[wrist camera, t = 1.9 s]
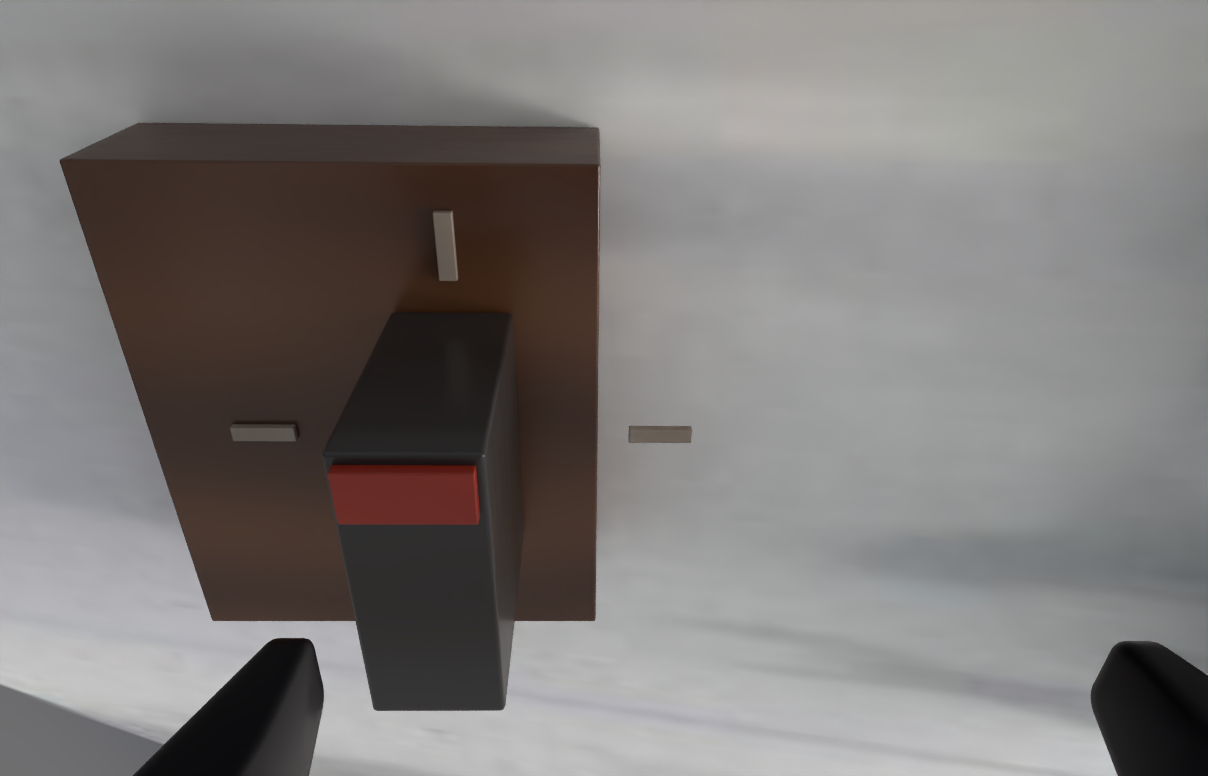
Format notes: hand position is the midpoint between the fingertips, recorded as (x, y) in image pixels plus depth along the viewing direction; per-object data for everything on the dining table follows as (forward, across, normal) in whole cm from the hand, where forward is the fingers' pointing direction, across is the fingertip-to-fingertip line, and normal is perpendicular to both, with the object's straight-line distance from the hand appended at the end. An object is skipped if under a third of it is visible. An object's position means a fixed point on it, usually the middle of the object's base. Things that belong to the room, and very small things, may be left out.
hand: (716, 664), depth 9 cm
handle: (+9, +4, +3) cm, 10 cm away
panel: (+12, +5, +3) cm, 13 cm away
